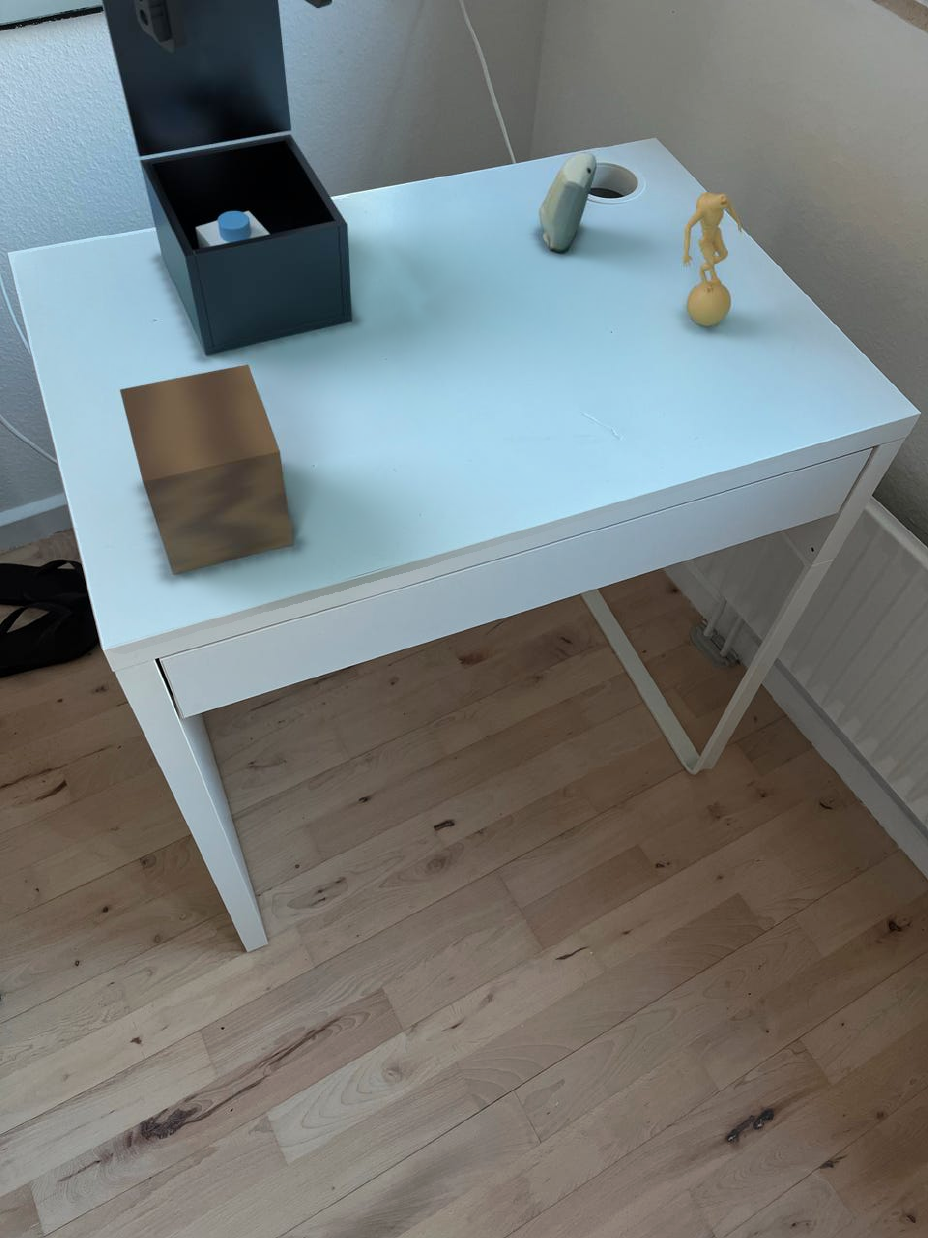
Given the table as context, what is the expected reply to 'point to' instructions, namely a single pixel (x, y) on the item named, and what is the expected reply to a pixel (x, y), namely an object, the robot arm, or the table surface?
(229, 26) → the lid
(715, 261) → the figurine
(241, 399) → the brown box
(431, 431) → the table surface
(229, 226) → the white box
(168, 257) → the black open box
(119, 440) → the table surface
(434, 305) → the table surface
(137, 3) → the robot arm
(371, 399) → the table surface
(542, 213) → the grey-green elongated block
